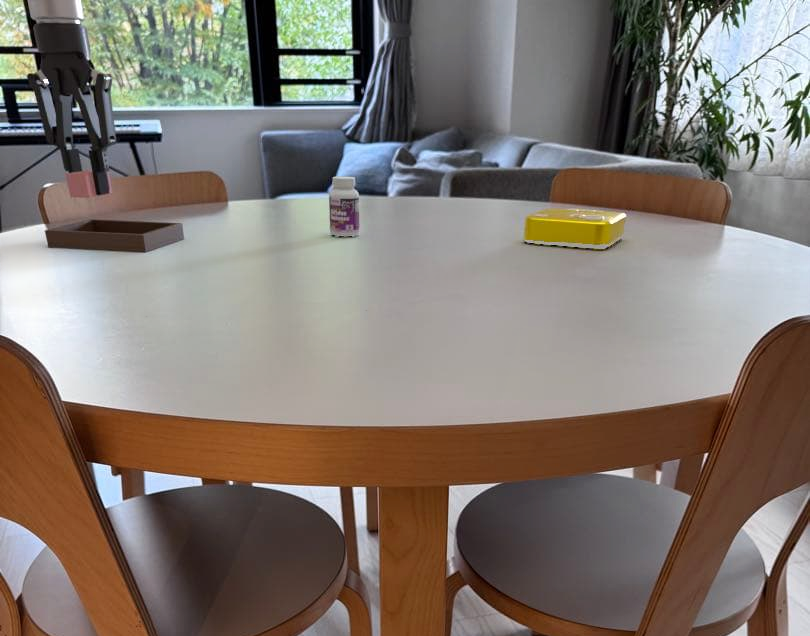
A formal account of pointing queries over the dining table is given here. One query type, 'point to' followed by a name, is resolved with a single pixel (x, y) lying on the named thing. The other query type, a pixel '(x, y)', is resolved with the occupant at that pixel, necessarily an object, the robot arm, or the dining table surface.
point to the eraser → (84, 184)
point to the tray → (115, 235)
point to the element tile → (574, 226)
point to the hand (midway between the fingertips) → (91, 193)
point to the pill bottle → (344, 207)
